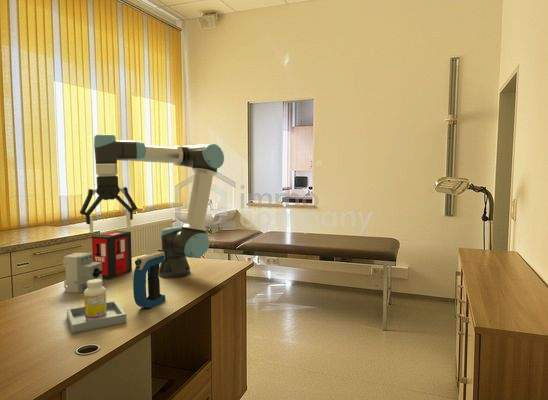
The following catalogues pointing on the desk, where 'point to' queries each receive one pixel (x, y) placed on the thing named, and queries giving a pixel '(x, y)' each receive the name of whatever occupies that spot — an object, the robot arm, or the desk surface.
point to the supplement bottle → (95, 300)
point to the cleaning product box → (113, 253)
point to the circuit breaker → (80, 271)
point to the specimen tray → (82, 325)
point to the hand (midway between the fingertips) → (110, 230)
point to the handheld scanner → (139, 279)
